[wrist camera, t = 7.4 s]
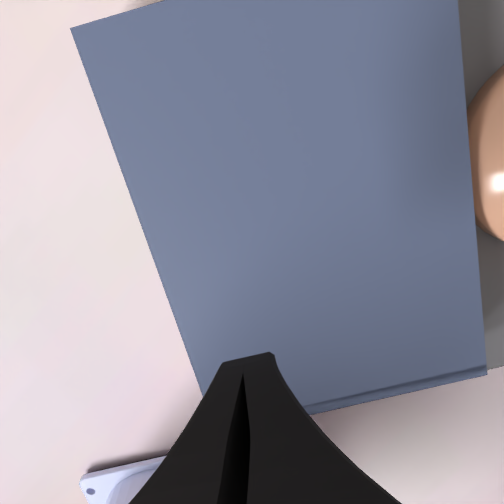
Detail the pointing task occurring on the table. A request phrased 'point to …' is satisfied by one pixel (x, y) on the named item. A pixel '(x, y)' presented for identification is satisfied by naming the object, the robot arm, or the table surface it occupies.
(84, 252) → the table surface
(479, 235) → the placemat
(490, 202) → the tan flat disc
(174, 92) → the book
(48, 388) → the table surface
